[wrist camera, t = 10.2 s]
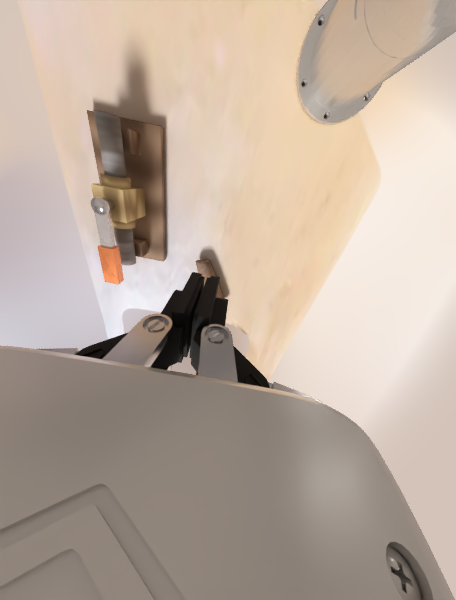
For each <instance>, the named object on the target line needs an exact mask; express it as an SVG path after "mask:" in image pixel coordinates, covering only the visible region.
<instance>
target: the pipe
mask: <svg viewBox="0 0 456 600" xmlns="http://www.w3.org/2000/svg"><path fill="white" fill-rule="evenodd" d="M196 265H197V269H198V273H200V274H202V276H203V277H205V280H204V285H205V282H206V279H207V277H209V278H210V277H211V276H215V273H214V270H213V268H212V265H211V262H210V260H202V261H200V260H197V261H196ZM217 298H222V299H225V298H224V297H223V295H222V292H221V289H220V286H219V285H218V291H217Z"/></svg>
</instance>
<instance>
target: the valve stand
mask: <svg viewBox="0 0 456 600" xmlns="http://www.w3.org/2000/svg"><path fill="white" fill-rule="evenodd" d="M87 114H88V119H89V125H90V130H91V136H92V141H93V147H94V152H95V158H96V163H97V169H98V174H99V179H100V184H91V187H92V192H93V197H94V198H97V197H104V198H106V199H107V200H108V201H109V202H110V204H111V207H112V210H111V219H112V226H113V232H114V239H115V245H116V246H119V251H120V258H121V264H122V265H133V264H135V263H136V256H138V257H143V258H148V259H154V260H159V261H164V260H165V259H166V243H165V184H164V128H162V127H161V126H157V125H153V124H148V123H143V122H139V121H134V120H130V119H125V118H120V117H117V116H115V115H112V114H109V113H105V112H101V111H96V110H94V112H93V111H88V110H87Z"/></svg>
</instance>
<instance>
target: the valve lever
mask: <svg viewBox="0 0 456 600" xmlns="http://www.w3.org/2000/svg"><path fill="white" fill-rule="evenodd" d="M91 206H92V208H93V210H94V212H95V217H96V222H97V227H98V233H99V238H100V243H101V245H100V246H98V250H99V255H100V260H101V265H102V270H103V274H104V279H105V282H110V283H115V284H119V283H121V282H122V281H123V272H122V265H121V258H120V251H119V246H116V245H115V239H114V232H113V226H112V219H111V210H112V207H111V204H110V202H109V201H108V200H107V199H106V198H104V197H97V198H93V199H92V201H91Z"/></svg>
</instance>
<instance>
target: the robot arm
mask: <svg viewBox="0 0 456 600" xmlns="http://www.w3.org/2000/svg"><path fill="white" fill-rule="evenodd" d="M318 22H320V23H321V26H319V25H318ZM454 32H456V0H328V1H327V2H326V4H325V5H324V6H323V7H322V9H321V10H320V11H319V13H318V14H317V16H316V18H315V19H314V21H313V23H312V24H311V26H310V29H309V31H308V33H307V35H306V38H305V40H304V43H303V46H302V49H301V53H300V57H299V61H298V68H297V89H298V96H299V99H300V102H301V105H302V107H303V108H304V110H305V112H306V113H307V114H308V115H309V117H310V118H311V119H313V120H315V121H316V122H318V123H322V124H336V123H340V122H343V121H345V120H347V119H349V118H351V117H352V116H354V115H355V114H357V113H358V112H359V111H360V110H361V109H363V108H364V107H365V106H366V105H367V104H368V103H369V102H370V101H371V100H372V98H373V97H374V95H375V94H376V93H377V91H378V90H379V88H380V87H381V85H382V83H383V82H384V81H385V80H387V79H388V78H390V77H391V76H393V75H394V74H395V73H397V72H398V71H400V70H401V69H403V68H404V67H406V66H407V65H408V64H410V63H411V62H413V61H414V60H416V59H417V58H419V57H420V56H422V55H423V54H425V53H426V52H427V51H429V50H430V49H432V48H433V47H435V46H436V45H437V44H439V43H440V42H442V41H443V40H445V39H446V38H447V37H449V36H450V35H452V34H453V33H454ZM302 83H304V87H302V85H301V84H302ZM364 97H365V100H363V98H364ZM324 115H326V119H324ZM219 279H220V277H216V276H211V277H210V278H209V277H207V279H206V282H205V285H204V280H205V277H203V276H202V274H200V273H195V272H193V273H192V274H191V276H190V278H189V280H188V282H187V284H186V285H185V287H184V289H183V291H179V290H175V291H174V293H173V294H172V296H171V298H170V299H169V301H168V303H167V304H166V306H165V308H164V309H163V311H162V312H161V314H152V315H148V316H146V317H144V318H143V319H142V320H141V321H140V322H139V323H138V324H137V325H136V326H135V327H134V328H133V329H132V330H131V331H130V332H129V333H126V334H123V335H120V336H117V337H114V338H111V339H108V340H106V341H103V342H100V343H97V344H94V345H91V346H88V347H86V348H84V349H82V350H81V351H78V349H77V348H71V349H69V348H68V349H30V348H21V347H10V346H0V600H455V599H454V597H453V595H452V593H451V591H450V588H449V587H448V584H447V582H446V580H445V578H444V576H443V574H442V572H441V570H440V568H439V566H438V564H437V562H436V560H435V557H434V555H433V553H432V551H431V549H430V547H429V545H428V543H427V541H426V539H425V537H424V535H423V533H422V531H421V529H420V527H419V525H418V524H417V521H416V519H415V517H414V515H413V513H412V512H411V509H410V508H409V506H408V504H407V502H406V500H405V498H404V496H403V494H402V492H401V490H400V488H399V486H398V485H397V483H396V481H395V479H394V477H393V475H392V473H391V472H390V470H389V468H388V466H387V465H386V463H385V461H384V460H383V458H382V456H381V454H380V453H379V451H378V450H377V448H376V447H375V445H374V444H373V442H372V441H371V440H370V438H369V437H368V436H367V434H366V433H365V432H364V431H363V430H362V429H361V428H360V427H359V426H358V425H357V424H356V423H354V422H353V421H352V420H350V419H349V418H348V417H346V416H345V415H343V414H342V413H340V412H338V411H336V410H335V409H333V408H331V407H329V406H327V405H325V404H323V403H322V402H320V401H319V400H318V399H316V398H314V397H311V396H309V395H306V394H304V393H301V392H299V391H296V390H293V389H291V388H288V387H286V386H283V385H281V384H278V383H276V382H274V383H273V384H272V383H269V382H268V381H267V379H266V378H265V377H264V376H263V375H262V374H261V373H260V372H259V371H258V370H257V369H256V368H255V367H254V366H253V365H252V364H251V363H250V362H249V361H248V360H247V359H246V358H245V357H244V356H243V355H242V354H241V353H240V352H239V351H238V350H237V349H236V348H235V347H234V346H233V340H232V334H231V332H230V331H229V329H228V328H226V327H225V320H226V312H227V305H228V299H222V298H217V291H218V285H219ZM190 346H191V347H190ZM189 349H190V358H191V365H192V366H193V367H194V369H195V370H196V375H192V374H186V373H180V372H174V371H171V368H172V365H173V364H175V363H177V362H182V359H183V357H187V355H188V352H189Z"/></svg>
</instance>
